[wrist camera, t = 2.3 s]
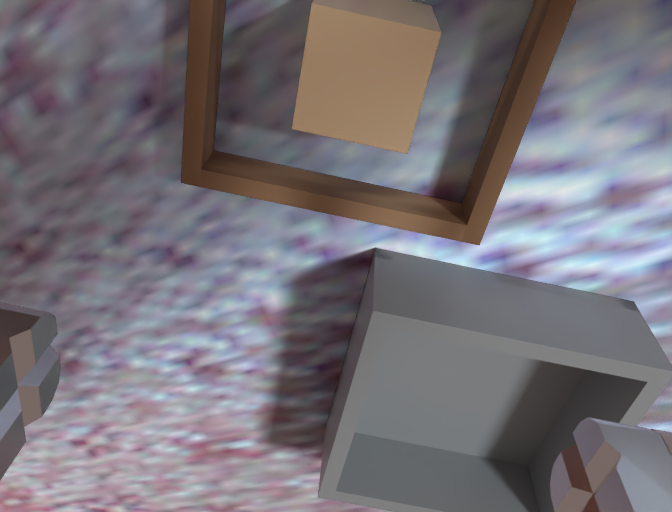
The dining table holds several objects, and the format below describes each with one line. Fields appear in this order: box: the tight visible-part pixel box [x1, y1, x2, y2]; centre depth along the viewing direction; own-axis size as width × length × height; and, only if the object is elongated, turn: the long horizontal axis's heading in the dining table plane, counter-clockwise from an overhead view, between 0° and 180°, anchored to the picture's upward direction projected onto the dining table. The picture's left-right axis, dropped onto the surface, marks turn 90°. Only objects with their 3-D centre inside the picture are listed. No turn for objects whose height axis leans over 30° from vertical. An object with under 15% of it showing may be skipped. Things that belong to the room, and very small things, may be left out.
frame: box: [181, 0, 576, 245], centre depth 27 cm, size 16×16×2 cm
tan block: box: [292, 0, 442, 154], centre depth 25 cm, size 5×5×6 cm
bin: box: [318, 248, 672, 512], centre depth 36 cm, size 16×16×6 cm
